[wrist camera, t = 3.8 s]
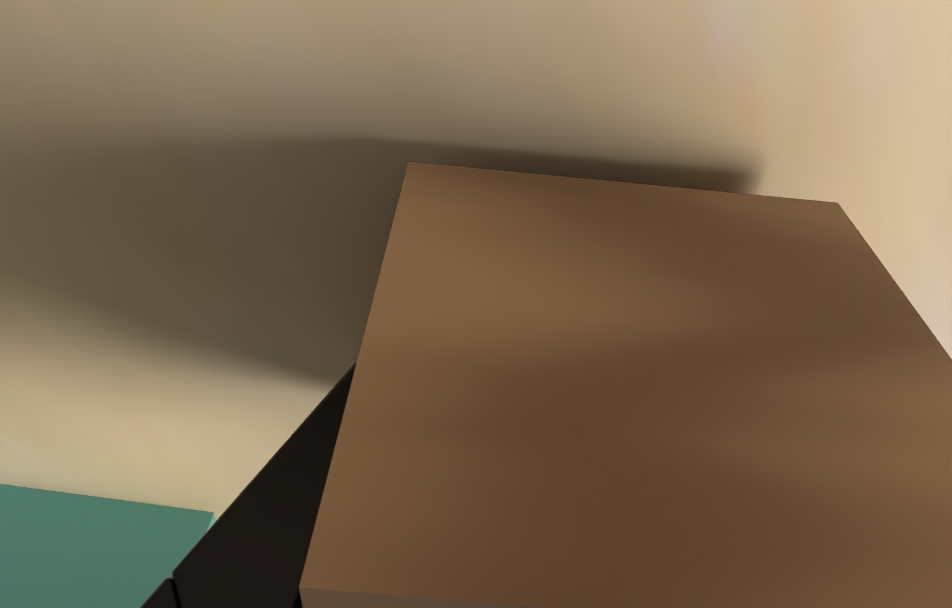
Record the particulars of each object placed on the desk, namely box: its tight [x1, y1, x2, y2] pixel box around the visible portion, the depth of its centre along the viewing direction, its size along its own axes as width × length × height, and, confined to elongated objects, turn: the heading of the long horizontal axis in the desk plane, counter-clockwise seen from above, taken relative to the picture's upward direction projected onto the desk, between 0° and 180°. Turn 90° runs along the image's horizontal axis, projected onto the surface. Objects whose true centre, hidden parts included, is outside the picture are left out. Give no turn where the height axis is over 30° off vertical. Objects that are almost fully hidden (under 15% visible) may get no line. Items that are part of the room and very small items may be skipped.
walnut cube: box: [299, 162, 952, 608], centre depth 7 cm, size 5×5×5 cm
